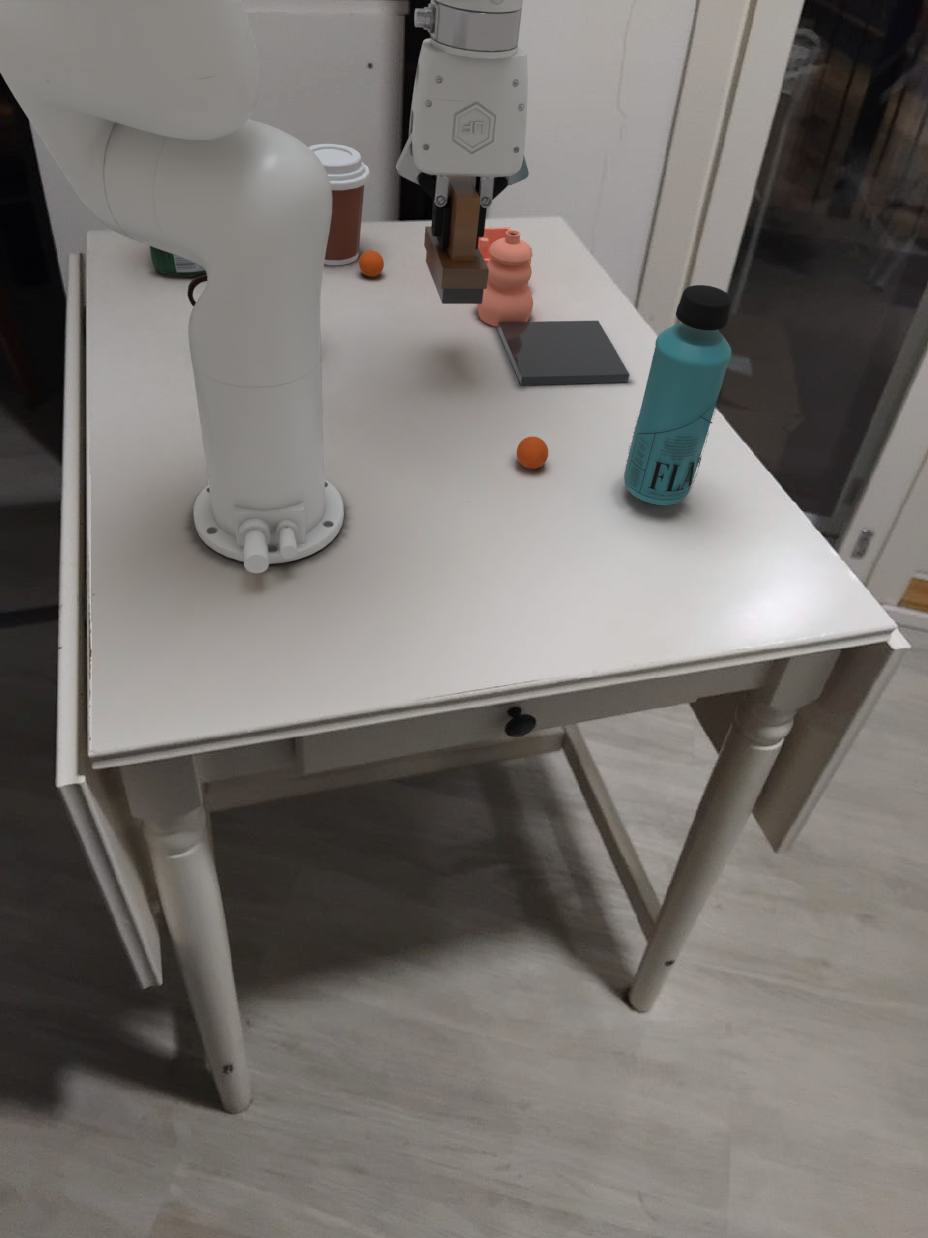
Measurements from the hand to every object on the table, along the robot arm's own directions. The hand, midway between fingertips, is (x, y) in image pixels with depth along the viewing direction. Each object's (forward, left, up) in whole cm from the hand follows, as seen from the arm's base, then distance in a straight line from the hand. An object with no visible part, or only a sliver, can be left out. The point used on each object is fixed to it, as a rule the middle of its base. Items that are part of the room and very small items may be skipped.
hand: (456, 241), depth 93 cm
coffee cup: (+27, +10, -14) cm, 32 cm away
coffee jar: (+25, +28, -14) cm, 40 cm away
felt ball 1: (+21, +6, -12) cm, 25 cm away
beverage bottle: (-25, -15, -14) cm, 32 cm away
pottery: (+16, -8, -14) cm, 23 cm away
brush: (0, 0, -4) cm, 4 cm away
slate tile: (+1, -13, -13) cm, 19 cm away
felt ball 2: (-19, -5, -12) cm, 23 cm away
